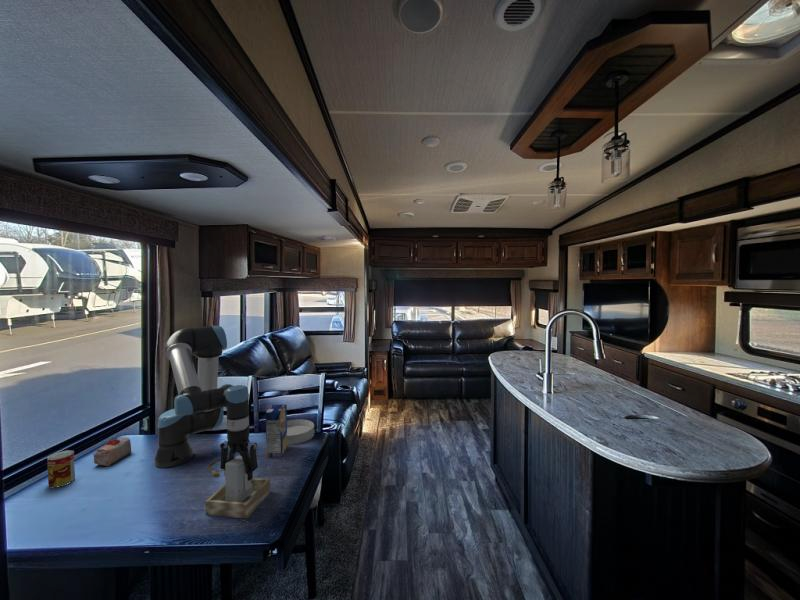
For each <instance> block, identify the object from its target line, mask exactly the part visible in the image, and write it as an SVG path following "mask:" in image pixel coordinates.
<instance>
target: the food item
mask: <svg viewBox="0 0 800 600" xmlns="http://www.w3.org/2000/svg"><path fill="white" fill-rule="evenodd" d="M105 444H106V445H103V446H100V447H99V448H98V449H97V450H96V452H95V453H93V464H95V465H98V466H105V467H110V466H111V465H113V464H114V463H116V462H118V461H120V460H122V459H123V458H125V457H126V456H127V455H129V454H131V453H132V444H131V439H130V437H126V436H123V437H119V438H114V439H112V440H110V439H107V441H106V443H105Z"/></svg>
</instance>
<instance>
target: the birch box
mask: <svg viewBox="0 0 800 600" xmlns="http://www.w3.org/2000/svg"><path fill="white" fill-rule="evenodd" d="M270 493H271V478H270V479H269V478H257V477H253V493H252V494H251V495H250V496H248V497H247V498H246V499H244V500H243V501H242V502H231V501H225V483H224V484H223V485H222V486H221V487H219V489H218V490H216V491H215V492H214V493H213V494H211V496H210V497H209V498H208V499H206V500H205V515H206V516H215V517H224V518H225V517H226V518H238V519H248V518H249V517H250V516H251V515H252V514H253V513H254V512H255V510H256V509H257V508H258V507H259V506H260V504H261V503H262V502H263V501H264V499H266V498H267V496H268V495H269V494H270Z"/></svg>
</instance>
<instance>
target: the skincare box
mask: <svg viewBox="0 0 800 600" xmlns="http://www.w3.org/2000/svg"><path fill="white" fill-rule="evenodd" d="M224 472H225V473H224V474H225V475H224V476H225V483H224V484H225V501H231V502H242V501H243V500H244V499H246V498H247V497H248V496H250V495H251V494H252V493H253V478H254V477H253V478H252V479H251V487H250V488H249V489H248V490H245V473H246V472H247V471H246V468H245V465H244V462H243V459H242V456H240V454H239V455H238V456H235V457H234V459H232V460H231V461H229V462H227V463H226V464H225V470H224Z"/></svg>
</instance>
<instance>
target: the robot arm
mask: <svg viewBox="0 0 800 600" xmlns="http://www.w3.org/2000/svg"><path fill="white" fill-rule="evenodd" d="M227 348H228V339H227V335H226V332H225V329H224V328H223V326H220V325H208V326H197V327H196V326H194V327H184V328H181V329H179V330H176V331H175V332H174V333H173V334H171V336H170V337H169V338H168V340H167V342H166V344H165V346H164V352H165V356H166V358H167V360H169V361H170V365H171V368H172V373H173V377H174V381H175V385H176V386H175V387H176V389H177V394H178V395H176V396H175V397H174V399H173V408H171V409H169V410H166V411H165V412H163V413H162V414H160V415H159V417H158V419H157V420H158V422H157V428H158V429H157V430H158V447H157V452H156V455H155V458H154V466H155V467H156V468H160V469H165V468H168V469H169V468H174V467H177V466H180V465H182V464H185V463H187V462H188V461H190V460H191V459H192V458H193V457H194V450H193V448H192V447H191V444H190V442H189V436H190V435H194V434H197V433H198V434H199V433H200V432H205V431H209V430H210V431H212V430H213V429H217V428H219V427H220V426H222V423H223V420H224V416H225V415H224V414H225V413H224V411H225V410H224V408H226V429H227V431H226V439H227V440H224V441H223V442H221V443H220V444H219V447H220V451H221V452H220V465H219V467H220V470H224V471H225V464H226V463H227V462H229V461H231V460H232V459H234V458H236V454H237V453H238V454H239V455H240V456H242V459H243V462H244V465H245V468H246V471H247V472H246V473H245V490H248V489H249V488H250V487H251V479H252V478H254V476H253V473H254V472H255V471H256V470H257V469H258V456H257V447H258V443H257V442H254V443H253V442H250V439H249V438H250V427H249V425H250V414H249V413H250V407H249V404H250V403H249V398H250V397H249V396H250V394H249V388H248V386H247V385H242V384H236V385H232V384H227V383H226V384H222V385H221V386H220V387H218V379H219V378H218V377H219V375H218V374H219V358H220V357H221V356H222V354H223V351H225V350H227ZM192 354H194V356H195V357H196V358H197V359H198V360H197V371H196V367H195V364H194V362H193V358H192Z"/></svg>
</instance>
